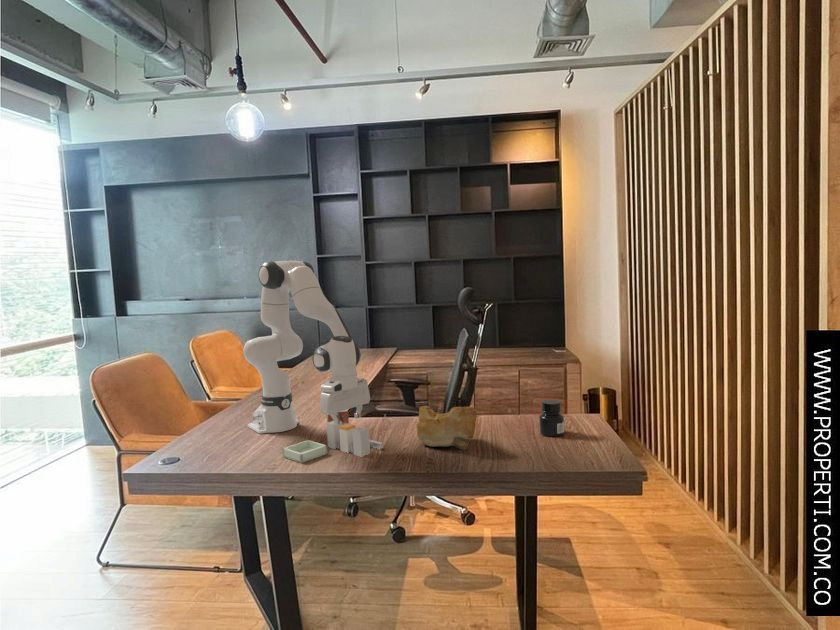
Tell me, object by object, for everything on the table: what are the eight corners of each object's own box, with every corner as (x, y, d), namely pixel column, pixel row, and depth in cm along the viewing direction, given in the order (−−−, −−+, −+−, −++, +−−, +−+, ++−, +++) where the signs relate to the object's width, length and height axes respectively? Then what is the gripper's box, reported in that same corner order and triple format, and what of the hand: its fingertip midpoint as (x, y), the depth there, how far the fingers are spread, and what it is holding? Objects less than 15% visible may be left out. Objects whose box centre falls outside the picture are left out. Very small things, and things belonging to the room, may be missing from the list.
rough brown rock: (493, 444, 176) (492, 402, 176) (471, 454, 162) (470, 409, 163) (438, 437, 189) (437, 398, 189) (413, 446, 175) (412, 404, 176)
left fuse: (327, 447, 178) (326, 422, 178) (336, 444, 181) (335, 420, 181) (335, 449, 176) (333, 424, 175) (343, 446, 179) (342, 421, 178)
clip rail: (329, 446, 179) (328, 438, 179) (349, 439, 186) (349, 431, 186) (362, 456, 167) (362, 447, 167) (383, 448, 175) (383, 439, 174)
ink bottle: (565, 438, 177) (564, 405, 176) (540, 437, 179) (539, 405, 178) (563, 429, 186) (562, 398, 185) (539, 429, 188) (538, 398, 187)
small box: (328, 440, 186) (327, 413, 185) (327, 436, 192) (325, 409, 191) (349, 437, 188) (348, 410, 187) (348, 433, 194) (346, 407, 193)
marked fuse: (340, 450, 174) (339, 425, 173) (349, 447, 177) (347, 423, 176) (347, 453, 171) (346, 427, 171) (356, 449, 174) (355, 424, 174)
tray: (282, 456, 170) (282, 448, 170) (308, 447, 178) (307, 439, 178) (301, 463, 163) (301, 454, 163) (327, 453, 171) (326, 445, 171)
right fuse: (353, 454, 169) (352, 429, 169) (362, 451, 172) (360, 426, 172) (361, 457, 167) (360, 431, 166) (370, 453, 170) (368, 428, 169)
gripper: (360, 376, 182) (363, 413, 183) (316, 387, 167) (319, 427, 168) (372, 377, 178) (374, 415, 179) (328, 388, 163) (330, 429, 163)
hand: (347, 421), depth 173 cm, fingers open, 8 cm apart
